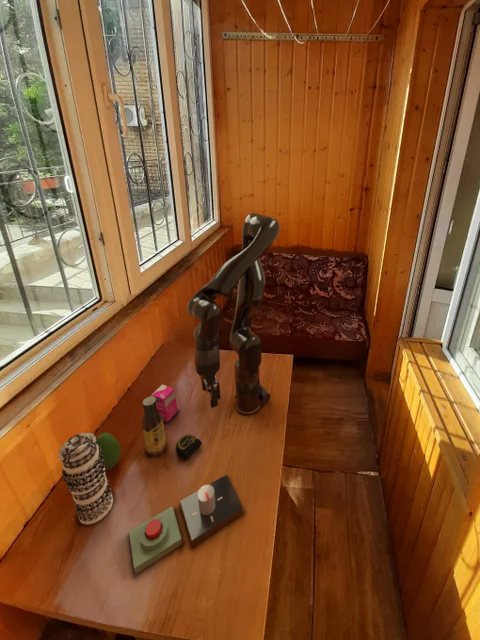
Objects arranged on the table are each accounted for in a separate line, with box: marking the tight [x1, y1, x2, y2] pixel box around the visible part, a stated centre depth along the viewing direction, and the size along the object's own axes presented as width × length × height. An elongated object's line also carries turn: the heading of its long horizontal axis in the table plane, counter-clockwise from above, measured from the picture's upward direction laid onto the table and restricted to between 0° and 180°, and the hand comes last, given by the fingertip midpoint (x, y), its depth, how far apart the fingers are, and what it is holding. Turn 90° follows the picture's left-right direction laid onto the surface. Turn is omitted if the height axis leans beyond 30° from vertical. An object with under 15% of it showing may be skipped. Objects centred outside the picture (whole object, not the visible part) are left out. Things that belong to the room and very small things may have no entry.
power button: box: [145, 519, 162, 540], centre depth 78 cm, size 4×4×2 cm
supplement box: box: [151, 384, 179, 424], centre depth 115 cm, size 6×6×12 cm
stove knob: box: [197, 484, 216, 515], centre depth 84 cm, size 4×4×6 cm
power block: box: [128, 505, 183, 575], centre depth 79 cm, size 11×9×4 cm
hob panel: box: [179, 473, 244, 548], centre depth 86 cm, size 14×11×3 cm
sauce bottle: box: [141, 395, 167, 457], centre depth 101 cm, size 6×6×20 cm
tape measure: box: [175, 434, 203, 461], centre depth 103 cm, size 7×7×4 cm
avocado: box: [96, 431, 122, 471], centre depth 96 cm, size 8×8×12 cm
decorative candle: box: [57, 432, 114, 525], centre depth 83 cm, size 9×9×25 cm
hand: (210, 397), depth 102 cm, fingers open, 8 cm apart
